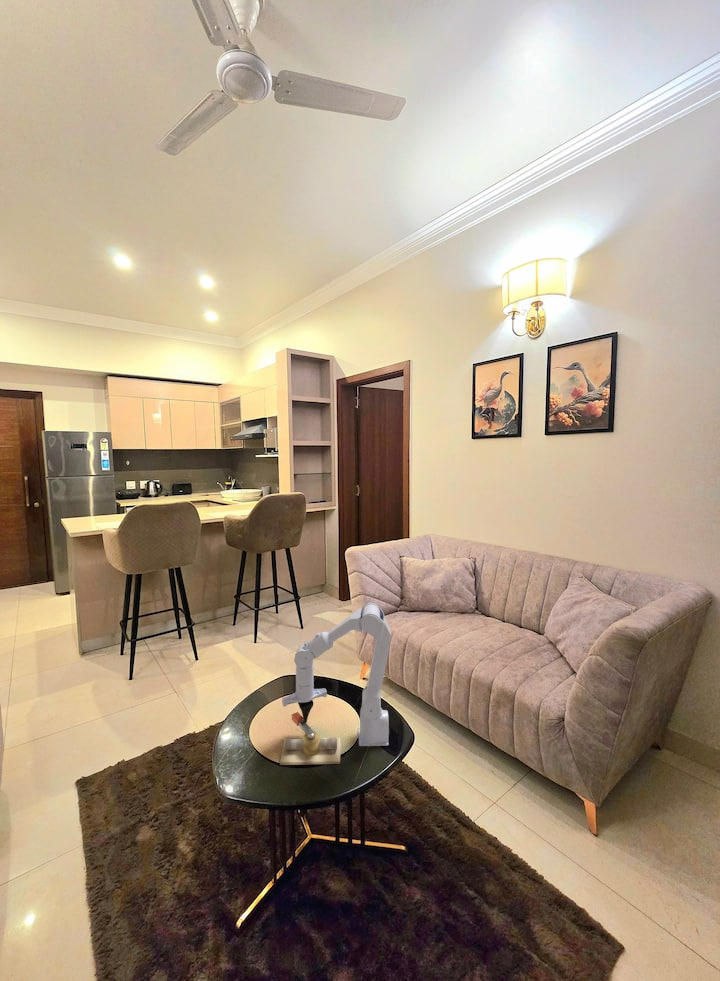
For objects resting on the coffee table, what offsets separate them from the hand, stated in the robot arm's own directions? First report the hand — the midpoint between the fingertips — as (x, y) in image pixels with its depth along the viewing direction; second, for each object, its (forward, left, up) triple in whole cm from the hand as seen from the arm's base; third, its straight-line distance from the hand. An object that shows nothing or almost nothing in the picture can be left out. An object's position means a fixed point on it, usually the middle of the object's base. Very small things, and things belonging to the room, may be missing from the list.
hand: (304, 720), depth 132 cm
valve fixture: (-3, +8, -5) cm, 10 cm away
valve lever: (0, +4, 0) cm, 4 cm away
